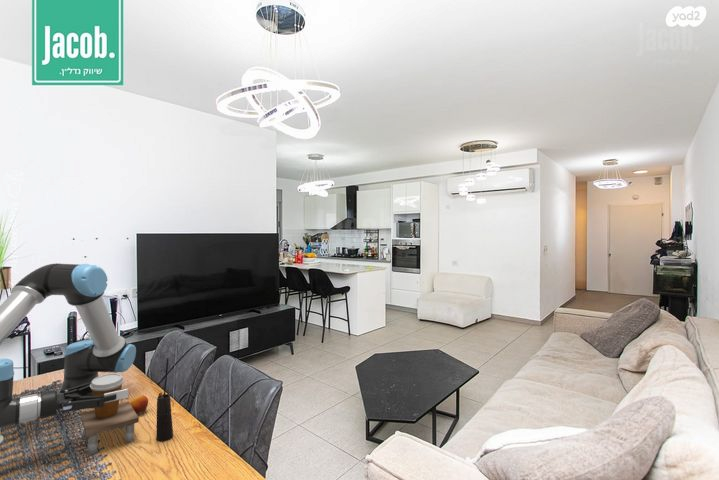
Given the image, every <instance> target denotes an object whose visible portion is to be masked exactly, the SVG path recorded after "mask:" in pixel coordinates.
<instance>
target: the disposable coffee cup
mask: <svg viewBox="0 0 719 480" xmlns="http://www.w3.org/2000/svg"><path fill="white" fill-rule="evenodd" d="M98 376H99V377H96V378H95V379H93V380H92V383H91V384H90V388H91V389H92V395H93V396H102V395H104V394H106V393H110V392H115V391H119V390H122V388H123V387H122V386H123V384H124V381H125V379H124V378H123V375H122V374H120V373H105V374H102V375H98ZM120 401H121V399H119V400H115V401H111V402H106V403H104V406H103V407H97V408H93V410H95V416H96V417H98V418H104V417H109V416H111V415H114V414H115V413H116V412H117V411H118V405H119V403H120Z"/></svg>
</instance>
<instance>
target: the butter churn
mask: <svg viewBox="0 0 719 480" xmlns="http://www.w3.org/2000/svg"><path fill="white" fill-rule="evenodd" d="M168 368H169V358H167V359H166V365H165V376H164V377H165V378H164V379H165V380H164V385H163V386H164V387H163V390H164V391H163V393H162V392H159V393H158V396H157V397H156V398H157V399H156V400H157V401H156V428H155V429H156V430H155V432H156V434H155V435H156V436H155V440H156V441H157V442H159V443H164V442H167V441H169V440H171V439H172V438H173V437H174V429H173V428H174V427H173V420H172V419H173V418H172V417H173V416H172V404H171V402H172V401H171V394H170V393H166V391H167V380H168Z"/></svg>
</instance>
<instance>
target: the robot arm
mask: <svg viewBox="0 0 719 480" xmlns="http://www.w3.org/2000/svg"><path fill="white" fill-rule="evenodd" d="M108 280H109V279H108V276H107V273H106V271H105V270H104V269H103V268H102V267H100V266H98V265H95V264H89V263H81V264H78V263H77V264H76V263H74V264H73V263H57V262H56V263H49V264H45V265H42V266H40V267H39V268H36V269H34V270H33V271H32V272H31V271H30V273H28V274H27V275H25V276H24V277H22V278H21V280H19V281H18V282H17V283H16V284H14V285H13V287H12V288H11V294H10V295H9V296H8V297H7V298H6V299H5V300H4V301H3V302H2V303H1V304H0V346H1V345H2V344H3V343H4V341H5V340H6V339H7V338H8V337H9V336H10V334H11V333H12V332H13V331H14V330H15V329H16V328H17V326H18V325H19V324H20V323H21V322H22V321H23V319H25V317H26V316H27V315H28V314H29V313H30V312H31V311H32V310H33V308H34V307H35V306H36V305H38V304H41V303H43V302H44V301H45V300H46V299H47V298H48V297H50V296H64V297H65V301H66V302H67V303H68V305H69V306H74V307H75V308H76V310H77V313H78V314H79V316H80V319H81V320H82V321H81V322H82V323H83V325H84V326H85V329H86V330H87V333H88V335H89V337H90V339H84V340H79V341H76V342H73V343H70V344H68V345H67V346H66V348H65V351H64V355H63V357H64V362H63V363H64V366H63V368H64V369H63V380H62V383H61V386H60V388H59V390H58V392H57V390H55V389H53V390H48V391H43V392H41V393H40V394H38V393H33V394H29V395H23V396H19V397H14V398H13V391H14V390H13V389H14V375H15V371H14V361H13V360H12V359H10V358H0V429H3V428H7V427H12V426H14V425H19V424H24V425H25V424H26V425H27V424H28V422H32V421H36V420H37V419H38V418H40V419H46V418H50V417H53V416H56V414H57V411H58V410H62V413H70V412H73V411H79V410H80V411H81V410H87V409H88V410H89V409H94V408H97V407H103V406H104V403H106V402H111V401H115V400H119V399H120V400H122V399H127V398H128V397H129V389H128V388H125V389H121V390H119V391H115V392H110V393H106V394H104V395H102V396H93V395H92V389H91V388H90V384H91V383H92V380H93V379H95V378H96V377H99V376H100V375H99V373H111V374H113V373H114V374H118V373H124V372H126V371H128V370H129V369H130V368H131V367H132V365H133V364H134V362H135V359H136V356H137V355H136V354H137V347H136V346H135V345H134V344H131V343H127V341H126V339H125V337H123V336H121V335H119V334H118V331H117V329H116V327H115V324H114V322H113V319H112V317H111V314H110V313H109V310H108V308H107V306H106V303H105V301H104V298H103V295H104V294H105V291H106V290H107V287H108V283H107V282H108ZM120 400H119V401H120Z"/></svg>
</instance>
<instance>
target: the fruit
mask: <svg viewBox="0 0 719 480" xmlns="http://www.w3.org/2000/svg"><path fill="white" fill-rule="evenodd" d="M127 401H128V402H129V403H130V405H131V406H132V408H133V409H134V411H135V413H136V414H137V416H138V417H139V415H141V414H142V413H147V411H146V410H147V409H148V404H149V398H148V397H147V396H146V395H144V394H138V395H136V396H134V397H133V396H132V397H131V398H130V399H128V400H127Z"/></svg>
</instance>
